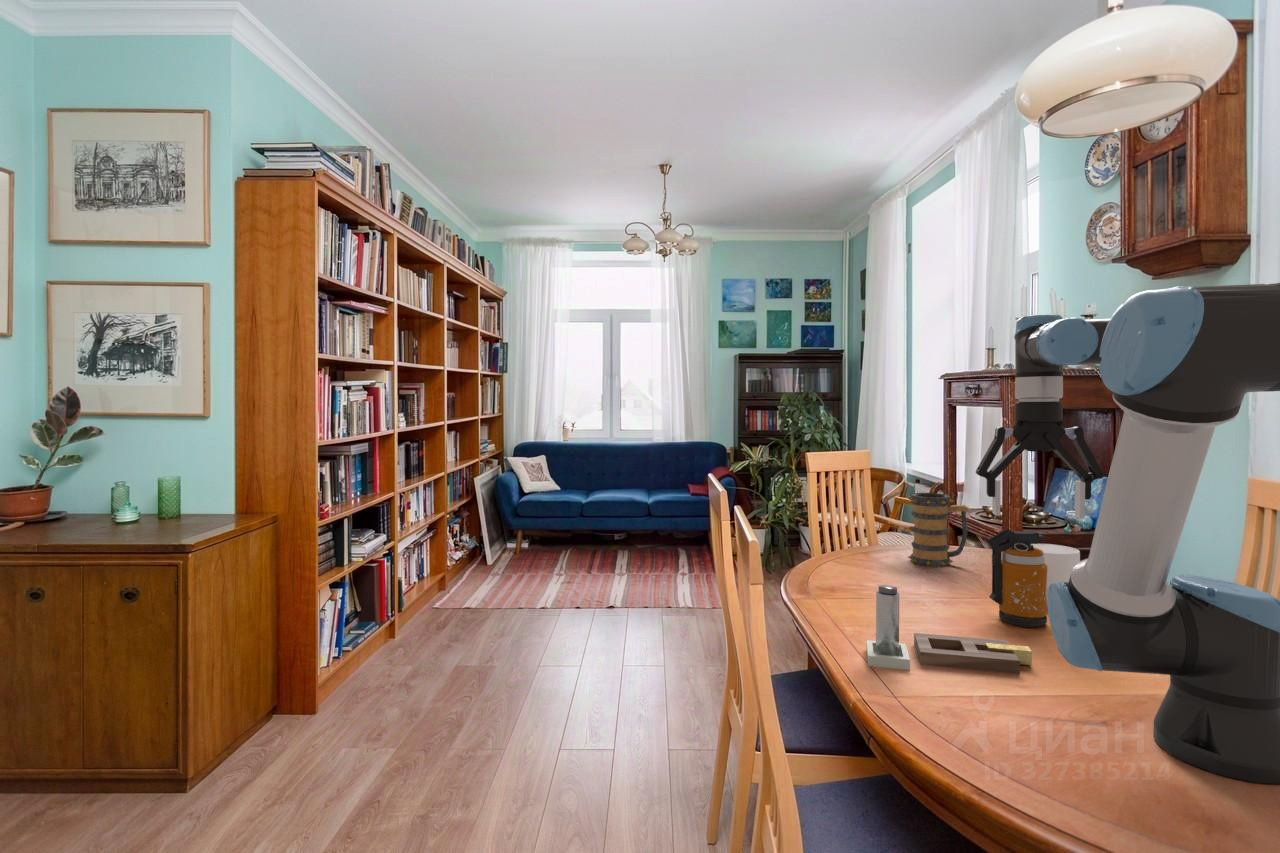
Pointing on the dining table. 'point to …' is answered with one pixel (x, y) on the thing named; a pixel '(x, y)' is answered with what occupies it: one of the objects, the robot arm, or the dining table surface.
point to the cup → (1058, 561)
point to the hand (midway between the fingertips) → (1037, 516)
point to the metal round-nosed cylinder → (887, 621)
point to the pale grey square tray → (888, 657)
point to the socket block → (964, 653)
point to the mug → (934, 529)
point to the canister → (1019, 578)
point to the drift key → (1013, 651)
